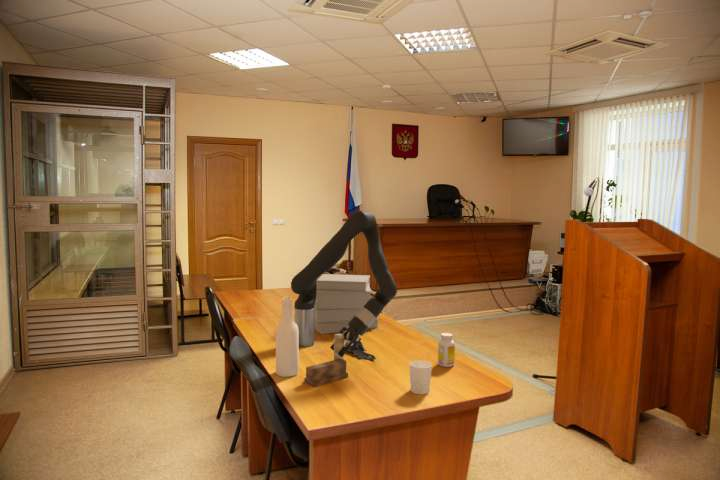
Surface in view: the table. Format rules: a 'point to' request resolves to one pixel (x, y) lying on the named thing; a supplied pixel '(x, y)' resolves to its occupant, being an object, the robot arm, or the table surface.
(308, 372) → the brown block
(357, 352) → the decorative bat
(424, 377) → the white cup
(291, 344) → the alcohol
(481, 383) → the table surface
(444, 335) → the supplement bottle
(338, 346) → the dowel
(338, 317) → the book stack
